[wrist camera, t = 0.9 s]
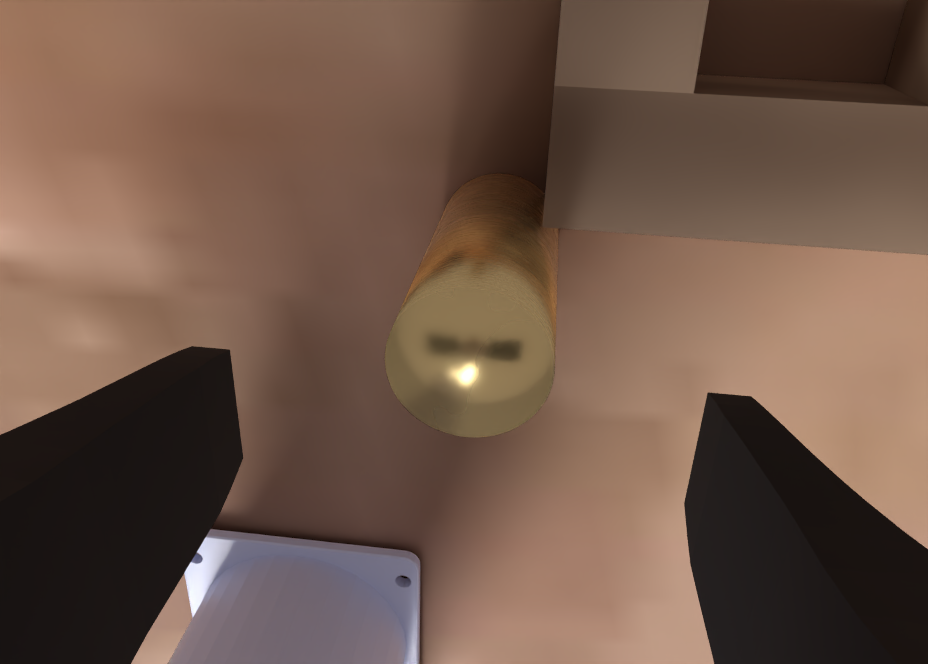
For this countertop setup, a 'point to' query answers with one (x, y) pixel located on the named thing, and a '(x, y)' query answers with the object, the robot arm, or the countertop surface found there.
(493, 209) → the pin
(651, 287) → the countertop surface
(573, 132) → the slot block
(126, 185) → the countertop surface
